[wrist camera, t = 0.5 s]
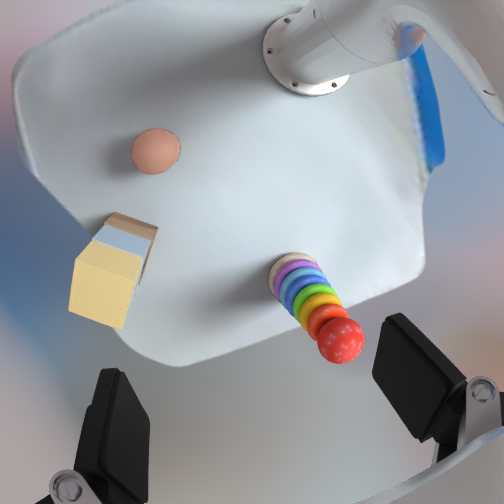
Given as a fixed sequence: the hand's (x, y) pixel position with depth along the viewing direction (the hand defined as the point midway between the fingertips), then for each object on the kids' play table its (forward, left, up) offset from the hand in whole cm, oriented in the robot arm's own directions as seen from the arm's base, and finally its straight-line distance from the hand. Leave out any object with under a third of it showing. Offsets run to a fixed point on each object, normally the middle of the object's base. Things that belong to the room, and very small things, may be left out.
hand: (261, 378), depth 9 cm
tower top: (+10, -8, -21) cm, 25 cm away
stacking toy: (+7, +16, -31) cm, 35 cm away
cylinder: (-3, -8, -31) cm, 32 cm away
